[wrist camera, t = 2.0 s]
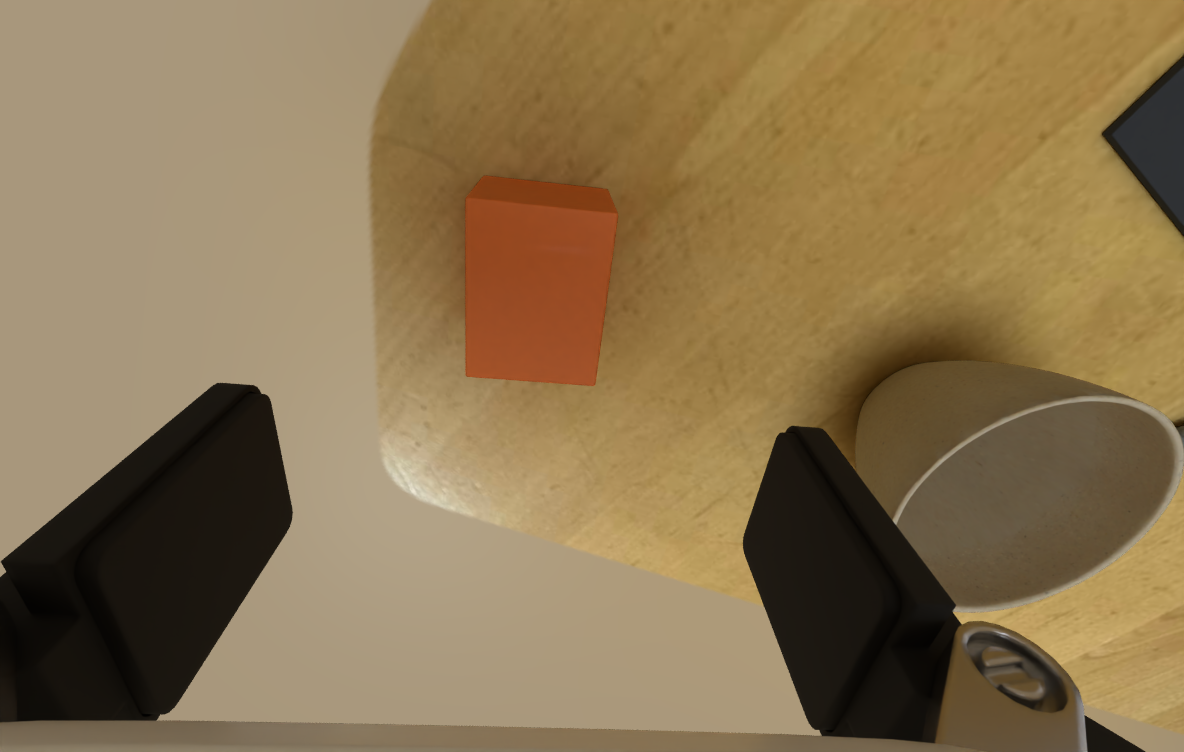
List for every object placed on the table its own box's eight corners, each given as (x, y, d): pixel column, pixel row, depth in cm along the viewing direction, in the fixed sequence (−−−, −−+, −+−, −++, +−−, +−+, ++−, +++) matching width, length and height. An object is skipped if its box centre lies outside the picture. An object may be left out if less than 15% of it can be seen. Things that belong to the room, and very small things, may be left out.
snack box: (483, 174, 19) (464, 197, 15) (608, 188, 19) (618, 213, 16) (480, 329, 22) (465, 377, 18) (590, 338, 22) (595, 386, 19)
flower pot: (937, 507, 28) (1045, 630, 22) (769, 467, 26) (834, 590, 20) (1073, 343, 23) (1259, 439, 17) (881, 280, 22) (1012, 363, 15)
